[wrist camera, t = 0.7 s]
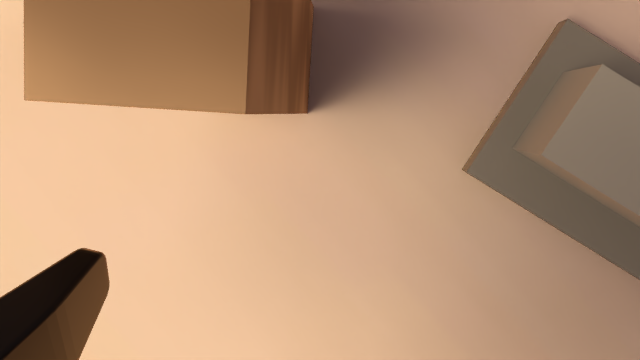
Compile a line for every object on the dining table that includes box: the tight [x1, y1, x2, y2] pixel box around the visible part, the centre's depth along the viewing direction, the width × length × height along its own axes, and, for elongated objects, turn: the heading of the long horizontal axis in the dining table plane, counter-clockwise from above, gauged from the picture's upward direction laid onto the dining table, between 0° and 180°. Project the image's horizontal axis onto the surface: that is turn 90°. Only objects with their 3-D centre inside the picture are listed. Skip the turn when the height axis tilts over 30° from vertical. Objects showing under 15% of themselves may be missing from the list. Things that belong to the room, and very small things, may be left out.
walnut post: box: [24, 0, 314, 114], centre depth 17 cm, size 4×4×13 cm
